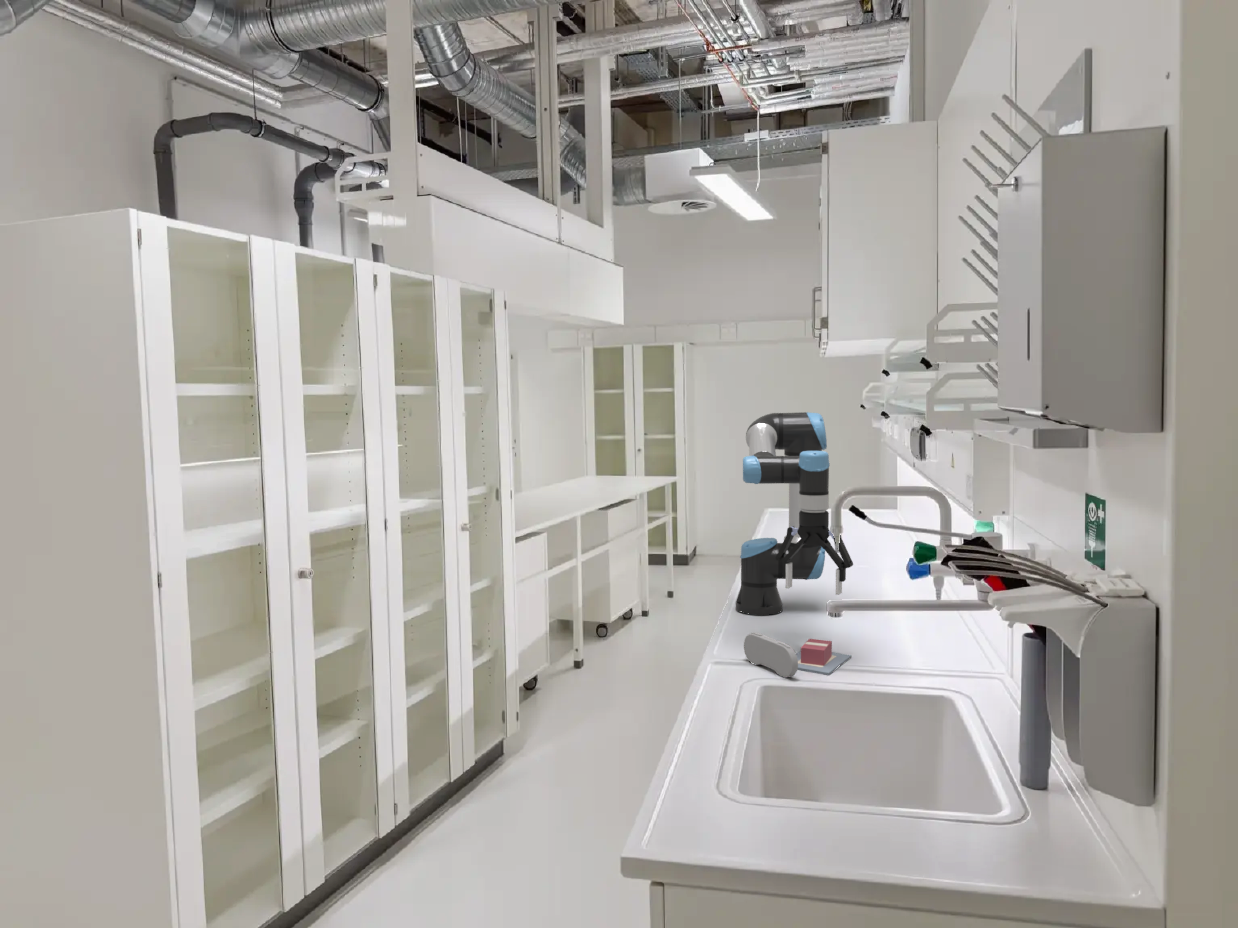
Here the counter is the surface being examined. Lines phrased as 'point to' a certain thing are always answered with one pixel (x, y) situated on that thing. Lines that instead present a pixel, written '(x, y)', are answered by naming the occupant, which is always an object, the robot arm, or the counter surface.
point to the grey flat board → (827, 668)
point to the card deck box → (816, 652)
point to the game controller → (771, 654)
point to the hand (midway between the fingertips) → (813, 590)
